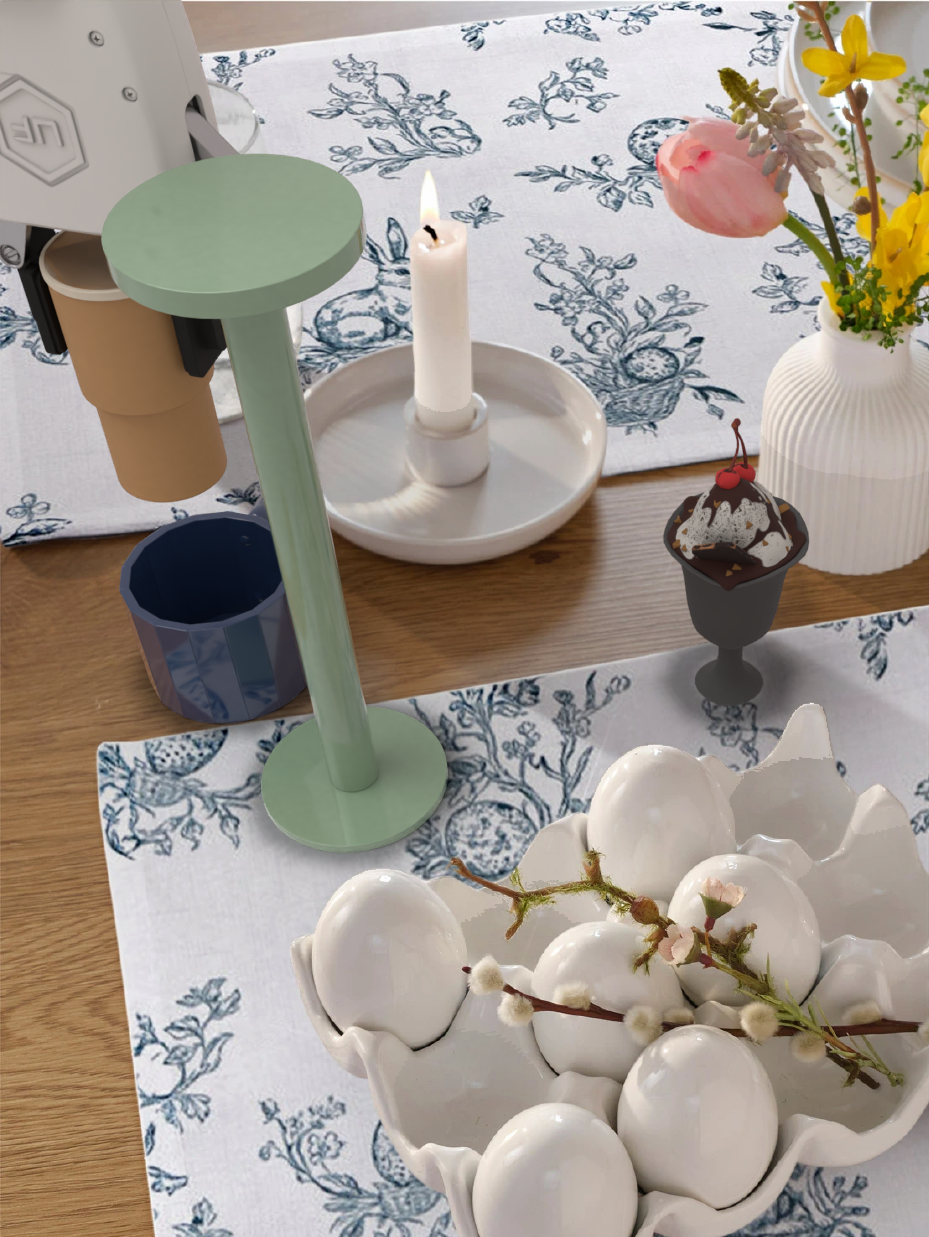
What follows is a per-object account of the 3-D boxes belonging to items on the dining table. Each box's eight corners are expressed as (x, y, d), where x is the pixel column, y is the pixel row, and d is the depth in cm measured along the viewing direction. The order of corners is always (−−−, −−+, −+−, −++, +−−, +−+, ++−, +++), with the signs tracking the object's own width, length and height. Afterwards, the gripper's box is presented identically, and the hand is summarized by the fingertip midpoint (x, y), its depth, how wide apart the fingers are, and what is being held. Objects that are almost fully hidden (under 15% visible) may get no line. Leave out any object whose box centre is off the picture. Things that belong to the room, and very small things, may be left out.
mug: (281, 744, 81) (254, 643, 75) (125, 714, 83) (88, 613, 77) (365, 590, 88) (345, 487, 83) (220, 565, 90) (192, 463, 84)
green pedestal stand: (234, 839, 77) (53, 274, 54) (306, 706, 83) (169, 141, 59) (412, 876, 75) (304, 308, 52) (473, 737, 81) (399, 167, 58)
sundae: (737, 623, 85) (750, 382, 74) (820, 697, 82) (847, 456, 70) (636, 677, 83) (633, 437, 71) (717, 755, 79) (727, 516, 68)
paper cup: (83, 498, 73) (11, 281, 65) (142, 419, 77) (81, 203, 68) (205, 520, 72) (148, 301, 63) (259, 438, 76) (211, 222, 67)
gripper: (-266, -84, 55) (-84, 369, 69) (201, -34, 52) (292, 431, 65) (-145, -168, 59) (3, 273, 73) (291, -127, 56) (359, 326, 70)
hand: (139, 344), depth 69 cm, fingers closed on paper cup, 5 cm apart
